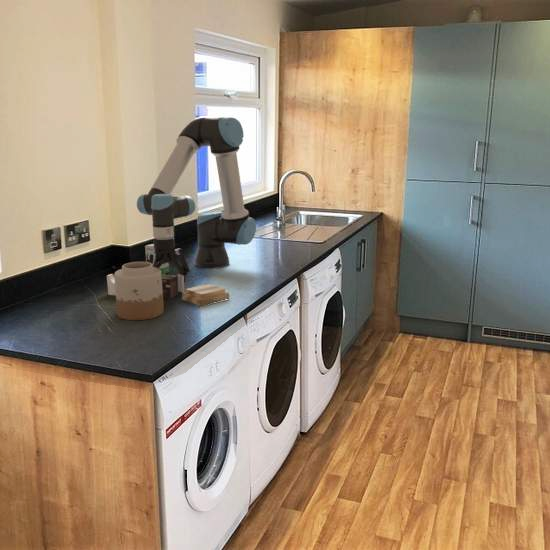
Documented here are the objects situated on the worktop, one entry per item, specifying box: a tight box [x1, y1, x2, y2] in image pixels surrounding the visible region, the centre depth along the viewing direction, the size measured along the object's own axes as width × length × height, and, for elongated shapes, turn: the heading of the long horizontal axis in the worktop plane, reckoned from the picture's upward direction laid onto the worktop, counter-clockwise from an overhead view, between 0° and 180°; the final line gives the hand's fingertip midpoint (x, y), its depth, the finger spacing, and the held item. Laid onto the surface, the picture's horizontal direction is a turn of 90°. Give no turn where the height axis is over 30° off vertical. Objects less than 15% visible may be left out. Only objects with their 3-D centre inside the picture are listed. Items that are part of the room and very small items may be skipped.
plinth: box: [181, 283, 230, 307], centre depth 218 cm, size 12×12×4 cm
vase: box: [113, 261, 164, 321], centre depth 202 cm, size 15×15×17 cm
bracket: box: [106, 273, 116, 296], centre depth 230 cm, size 13×7×8 cm, turn 157°
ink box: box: [144, 243, 170, 275], centre depth 256 cm, size 9×5×12 cm, turn 65°
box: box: [162, 274, 179, 299], centre depth 223 cm, size 6×6×7 cm
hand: (167, 295), depth 224 cm, fingers open, 12 cm apart
